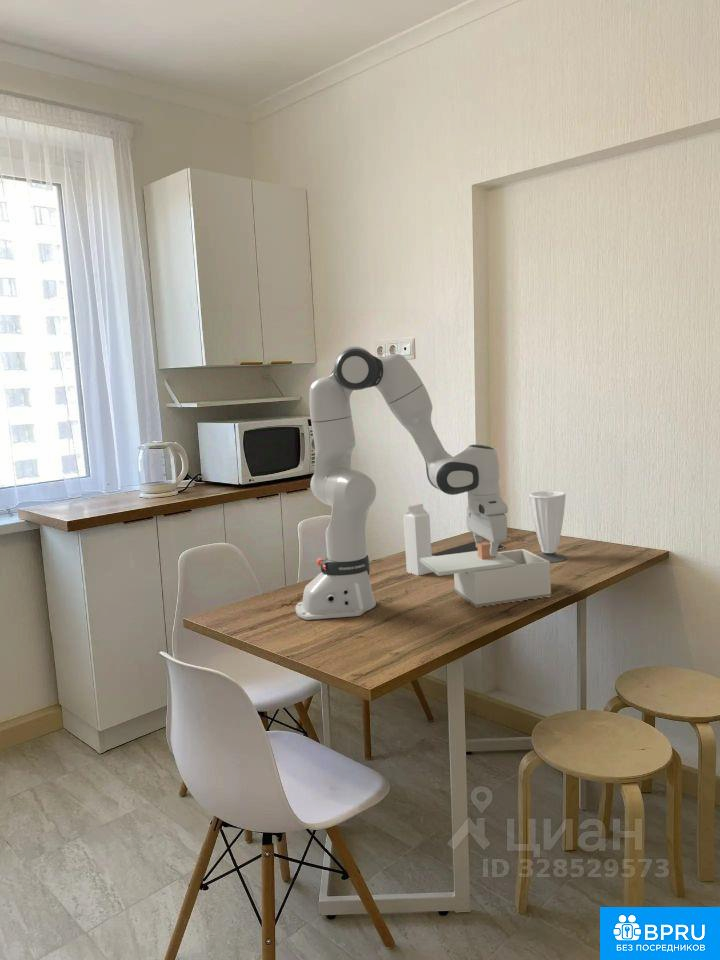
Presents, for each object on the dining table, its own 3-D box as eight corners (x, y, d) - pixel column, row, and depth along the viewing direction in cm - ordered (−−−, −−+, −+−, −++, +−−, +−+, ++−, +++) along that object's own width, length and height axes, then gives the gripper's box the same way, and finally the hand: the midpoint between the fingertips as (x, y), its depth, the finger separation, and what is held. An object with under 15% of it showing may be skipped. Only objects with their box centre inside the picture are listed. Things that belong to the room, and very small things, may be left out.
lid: (438, 575, 188) (437, 557, 187) (420, 561, 203) (419, 544, 202) (515, 565, 192) (515, 547, 192) (492, 552, 208) (491, 535, 207)
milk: (406, 572, 230) (401, 505, 227) (421, 568, 233) (416, 502, 230) (418, 576, 225) (413, 507, 222) (433, 572, 228) (428, 504, 225)
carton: (475, 608, 191) (473, 571, 190) (454, 591, 207) (452, 558, 205) (551, 596, 196) (549, 561, 194) (524, 581, 211) (523, 548, 210)
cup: (532, 553, 242) (529, 491, 239) (567, 553, 239) (565, 490, 236) (530, 562, 231) (528, 497, 228) (567, 562, 228) (565, 496, 225)
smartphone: (505, 549, 253) (505, 545, 253) (455, 566, 235) (455, 560, 235) (476, 544, 263) (476, 540, 263) (426, 560, 245) (425, 555, 245)
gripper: (459, 498, 206) (462, 545, 208) (488, 510, 186) (490, 561, 188) (480, 496, 207) (482, 542, 209) (510, 507, 188) (512, 558, 189)
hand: (486, 551), depth 199 cm, fingers open, 8 cm apart
